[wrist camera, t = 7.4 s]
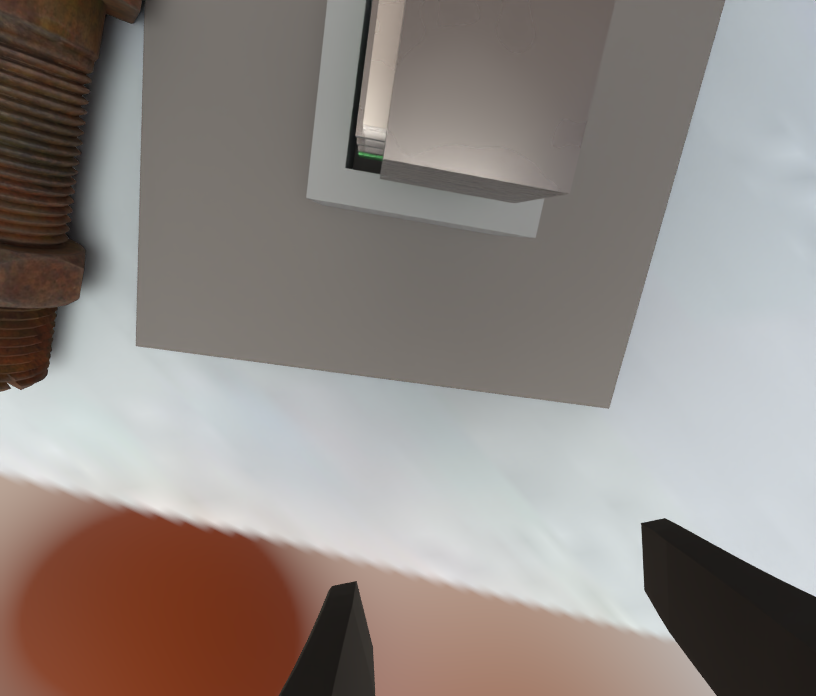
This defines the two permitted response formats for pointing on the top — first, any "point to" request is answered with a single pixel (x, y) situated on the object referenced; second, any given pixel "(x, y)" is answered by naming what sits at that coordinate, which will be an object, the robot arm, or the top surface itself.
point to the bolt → (42, 168)
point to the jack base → (393, 208)
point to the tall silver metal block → (481, 93)
